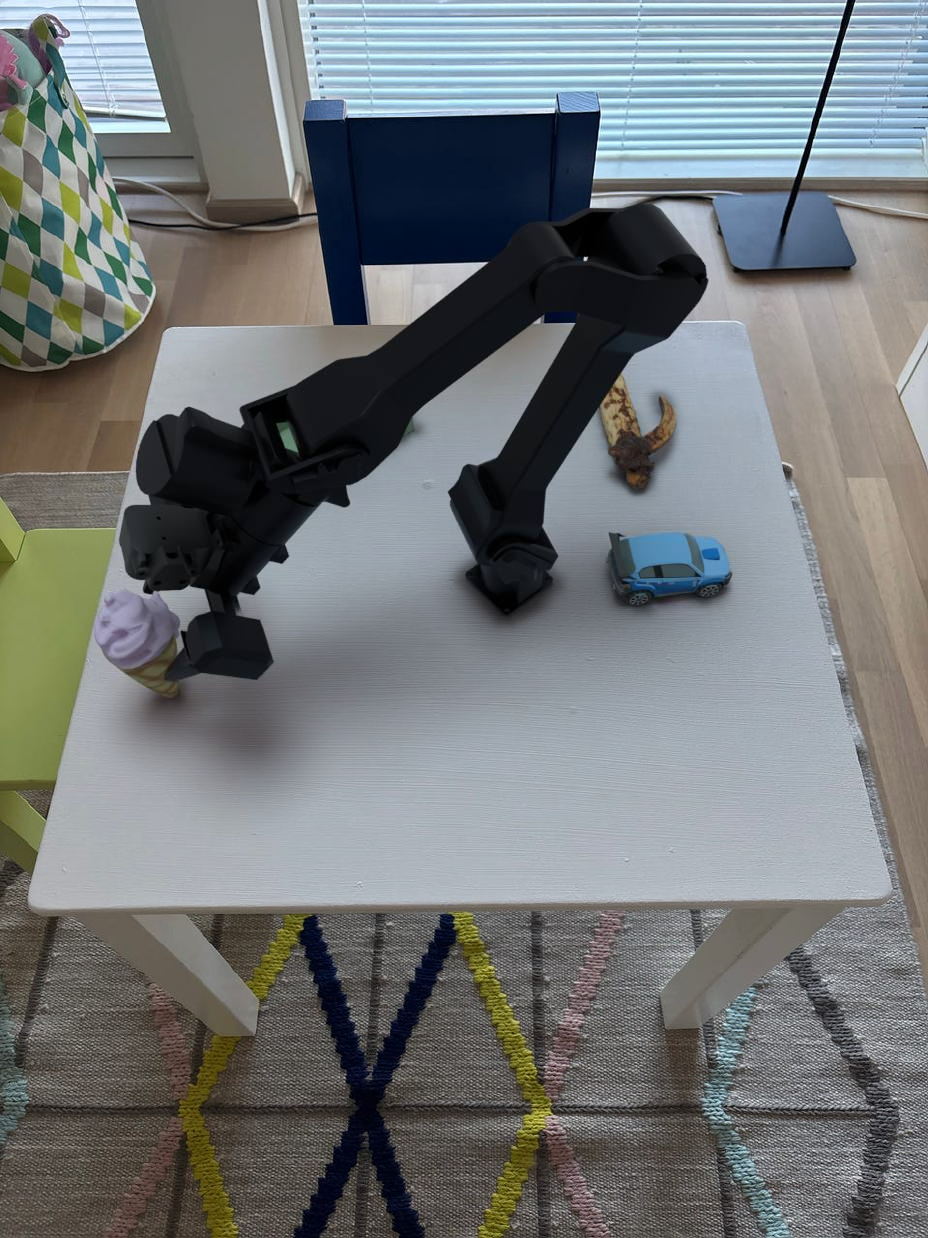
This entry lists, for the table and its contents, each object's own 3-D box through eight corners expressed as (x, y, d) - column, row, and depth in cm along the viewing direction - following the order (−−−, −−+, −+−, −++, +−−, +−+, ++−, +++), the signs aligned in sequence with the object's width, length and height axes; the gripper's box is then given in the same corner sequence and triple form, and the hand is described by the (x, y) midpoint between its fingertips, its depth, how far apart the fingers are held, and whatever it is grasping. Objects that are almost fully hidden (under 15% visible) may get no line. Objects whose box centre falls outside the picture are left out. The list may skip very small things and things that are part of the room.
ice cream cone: (179, 647, 88) (129, 557, 75) (224, 684, 86) (180, 597, 73) (125, 696, 85) (63, 610, 72) (169, 734, 83) (114, 653, 70)
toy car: (731, 597, 90) (745, 564, 85) (611, 609, 90) (619, 576, 85) (716, 549, 93) (729, 515, 88) (600, 560, 93) (607, 526, 88)
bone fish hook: (693, 490, 98) (656, 369, 107) (705, 462, 94) (664, 338, 103) (608, 497, 97) (577, 374, 106) (616, 468, 93) (583, 343, 102)
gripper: (139, 400, 69) (48, 531, 76) (192, 593, 60) (82, 721, 67) (261, 444, 77) (168, 558, 85) (324, 619, 68) (213, 730, 75)
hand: (158, 634), depth 78 cm, fingers open, 9 cm apart
